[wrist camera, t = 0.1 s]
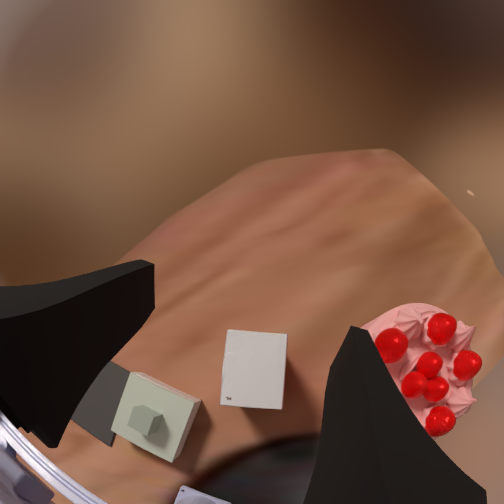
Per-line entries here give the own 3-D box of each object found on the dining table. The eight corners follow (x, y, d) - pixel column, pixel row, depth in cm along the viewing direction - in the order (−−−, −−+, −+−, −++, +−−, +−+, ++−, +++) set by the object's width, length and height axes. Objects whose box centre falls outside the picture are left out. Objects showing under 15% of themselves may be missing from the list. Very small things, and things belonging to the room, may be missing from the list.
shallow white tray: (180, 454, 33) (173, 460, 29) (123, 425, 34) (113, 428, 31) (201, 399, 36) (196, 402, 33) (143, 372, 38) (133, 371, 35)
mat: (110, 445, 33) (109, 446, 32) (52, 402, 35) (51, 402, 35) (135, 375, 38) (134, 375, 38) (74, 337, 40) (72, 337, 40)
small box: (277, 399, 36) (283, 411, 24) (232, 396, 37) (218, 406, 25) (281, 345, 39) (288, 332, 28) (237, 342, 40) (225, 328, 28)
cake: (450, 335, 38) (504, 315, 25) (416, 448, 30) (467, 465, 17) (354, 301, 42) (389, 267, 29) (308, 424, 34) (329, 448, 21)
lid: (175, 459, 30) (164, 469, 26) (115, 428, 32) (99, 432, 28) (197, 401, 34) (187, 405, 30) (135, 372, 36) (119, 371, 31)
